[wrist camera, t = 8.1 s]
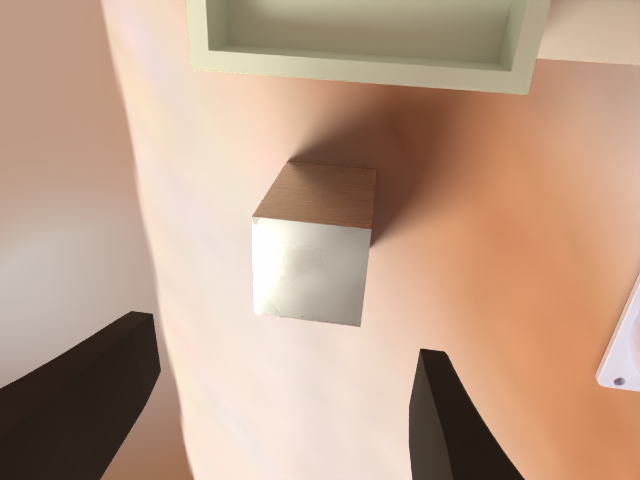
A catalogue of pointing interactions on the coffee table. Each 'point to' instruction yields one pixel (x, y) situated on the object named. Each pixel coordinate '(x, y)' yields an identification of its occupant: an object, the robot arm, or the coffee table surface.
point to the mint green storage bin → (373, 41)
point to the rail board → (592, 31)
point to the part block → (314, 243)
